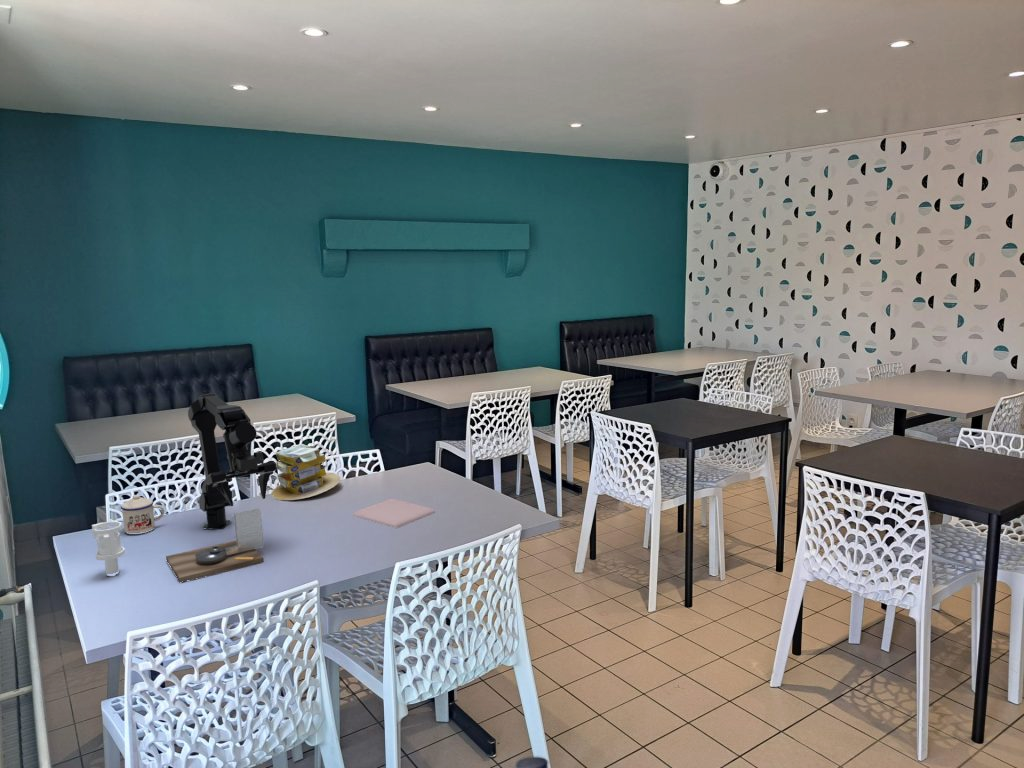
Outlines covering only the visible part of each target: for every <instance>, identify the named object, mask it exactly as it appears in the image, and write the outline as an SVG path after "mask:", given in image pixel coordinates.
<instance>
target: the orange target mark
mask: <svg viewBox="0 0 1024 768" xmlns="http://www.w3.org/2000/svg"><path fill="white" fill-rule="evenodd" d="M253 559H254V557H236V558H235V559H234V560H253Z"/></svg>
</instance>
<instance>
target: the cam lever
mask: <svg viewBox="0 0 1024 768" xmlns="http://www.w3.org/2000/svg"><path fill="white" fill-rule="evenodd" d="M233 519H234V521H233V522H234V533H235V540H236V546H233V547H229V548H225V549H224V548H221V547H218V546H217V547H212V548H208V549H204V550H201V551H199V552H198V553H196V555H195V556H196V562H197V563H199V564H213V563H217V562H220V561H222V560H224V559H225V558H226V557H227V555H231V554H235V553H239V552H244V551H248V550H252V549H256V550H257V549H259V548H264V534H263V533H264V532H263V520H262V510H261V509H260V508H255V509H250V510H245V511H239V512H234V513H233Z"/></svg>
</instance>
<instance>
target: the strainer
mask: <svg viewBox="0 0 1024 768" xmlns="http://www.w3.org/2000/svg"><path fill="white" fill-rule="evenodd" d="M122 523H123V522H121V521H115V520H113V521H112V520H111V521H105V522H103V521H101V522H99V523H96V524H95V523H94V524H91V529H92V530H91V531H92V536H93V539H96V545H97V551H96V552H95V554H94V555H95V559H96V560H98V561H104V566H105V574H113V573H116V572H118V571H119V561H118V558H121V557H123V556H124V555H125V554H126V549H125V547H124V546H122V541H121V533H120V532H119V531H121V530H122V529H123V524H122ZM113 526H115V527H113ZM107 527H112V528H108V529H107ZM119 572H120V571H119Z"/></svg>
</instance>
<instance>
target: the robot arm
mask: <svg viewBox="0 0 1024 768" xmlns="http://www.w3.org/2000/svg"><path fill="white" fill-rule="evenodd" d="M187 416H188V420H189V422H190V423H191V427H192V428H193V429H194V430H195V432H197V433H198V438H199V444H200V451H201V457H202V458H201V459H202V463H203V471H204V475H205V476H204V478H205V479H204V481H203V483H202V486H201V493H200V496H199V500H198V506H199V509H200V510H202V511H203V512H205V513H206V514H205V515H206V524H205V525H204V526H203V527H202V529H203V528H212V529H211V530H214V529H215V530H217V529H225V528H226V527H227V526H228V525H229V524H230V523H231V520H230V519H227V515H226V513H227V512H226V507H233V506H234V502H233V501H234V500H233V497H232V496H233V492H232V490H231V488H230V487H229V486H230V485H229V480H230V479H234V478H240V477H245V476H250V475H254V474H259V475H258V476H257V480H258V485H259V490H260V495H261V498H262V500H265V499H266V496H267V489H268V482H269V480H270V479H269V478H270V477H271V475H274V472H275V471H277V470H278V468H277V464H276V462H275V461H268V462H267V461H266V462H265V461H264V454H263V452H262V451H255V452H254V453H253V454H252V453H251V451H250V449H249V448H248V445H249V444H250V443H252V442H254V440H255V439H256V438H257V437H256V436H257V430H256V428H255V427H254V426H253V425H252V423H251V418H250V417H249V416H248V414H247V413H246V412H245V410H244V409H243V408H242V406H240V405H238V404H237V405H236V404H228V403H227V402H225V401H224V400H223V399H222V398H220V397H219V395H218V394H217V393H214V392H213V393H205V394H201V395H199V397H198V399H197V400H195V401H193V402H192V403H191V404H190V405H189V408H188V410H187ZM217 426H218V427H219V429H220V430H221V431H224V433H223V435H222V437H223V439H224V443H225V444H224V445H225V449H226V453H227V455H226V458H227V459H226V460H228V464H229V468H230V469H229V471H228V472H226V471H225V470H222V471H221V468H220V467H221V466H220V461H219V459H220V458H219V454H218V449H217V448H218V447H217V442H216V434H215V430H216V428H217Z"/></svg>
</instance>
